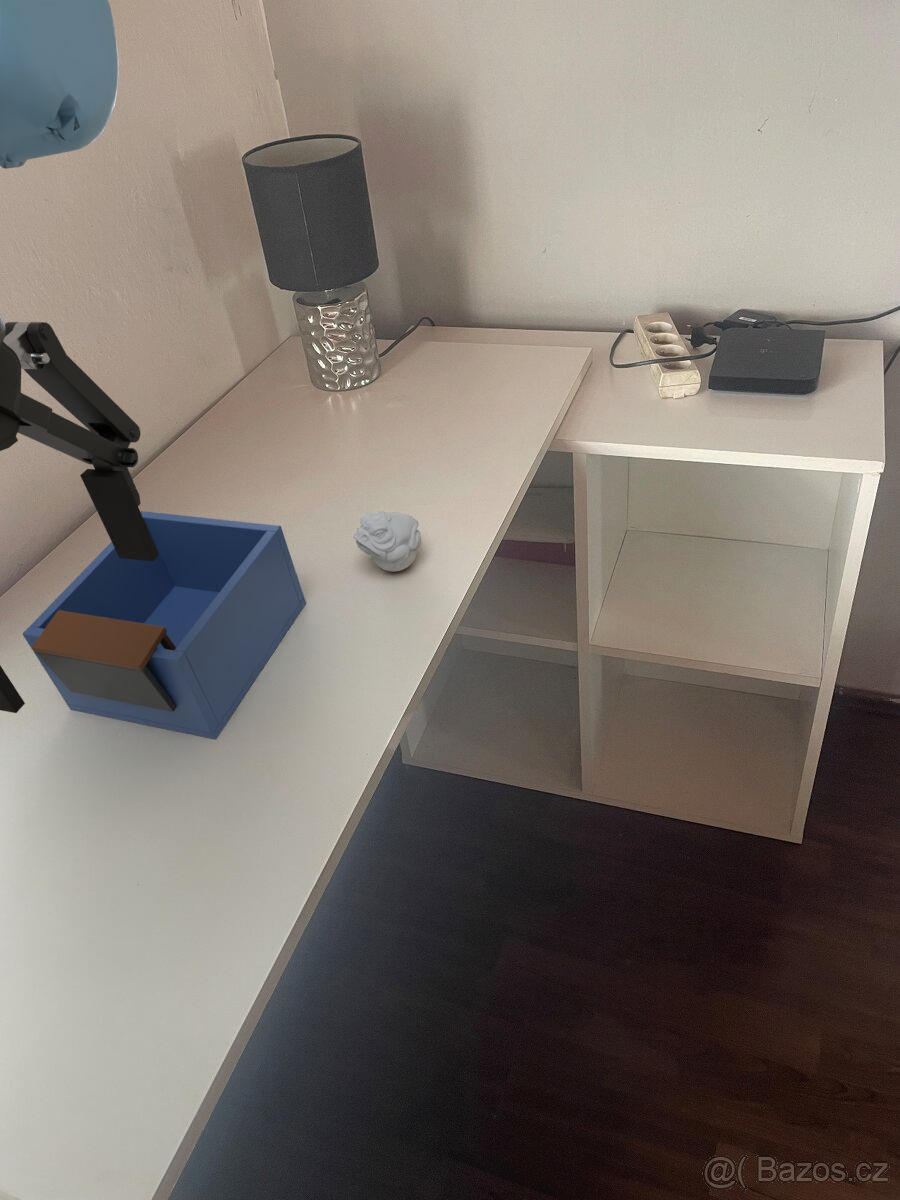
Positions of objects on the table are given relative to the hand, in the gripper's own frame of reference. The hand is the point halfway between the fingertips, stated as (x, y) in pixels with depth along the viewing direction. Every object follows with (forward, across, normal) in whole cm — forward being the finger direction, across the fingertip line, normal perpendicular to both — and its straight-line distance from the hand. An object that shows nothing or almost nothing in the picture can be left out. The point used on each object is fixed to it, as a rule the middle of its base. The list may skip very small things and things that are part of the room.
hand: (77, 624), depth 53 cm
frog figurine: (+22, +34, -4) cm, 41 cm away
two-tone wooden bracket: (+18, +11, +12) cm, 24 cm away
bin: (+22, +19, +11) cm, 31 cm away
